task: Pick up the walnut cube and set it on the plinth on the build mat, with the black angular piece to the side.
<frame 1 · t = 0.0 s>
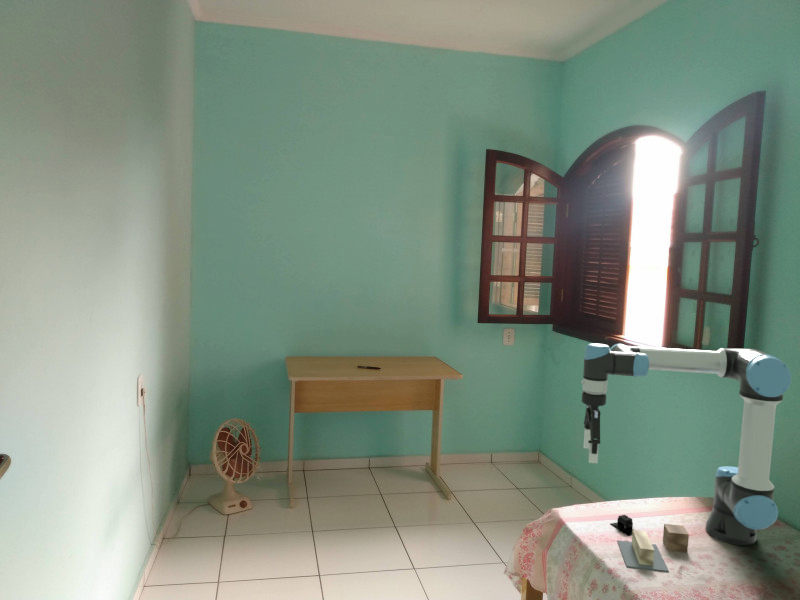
hand: (590, 455, 200), 28 cm above the table, fingers open, 13 cm apart
plinth: (642, 547, 191), on the build mat
walnut cube: (674, 546, 198), on the table
build mat: (641, 556, 191), on the table
black angular piece: (624, 530, 209), on the table
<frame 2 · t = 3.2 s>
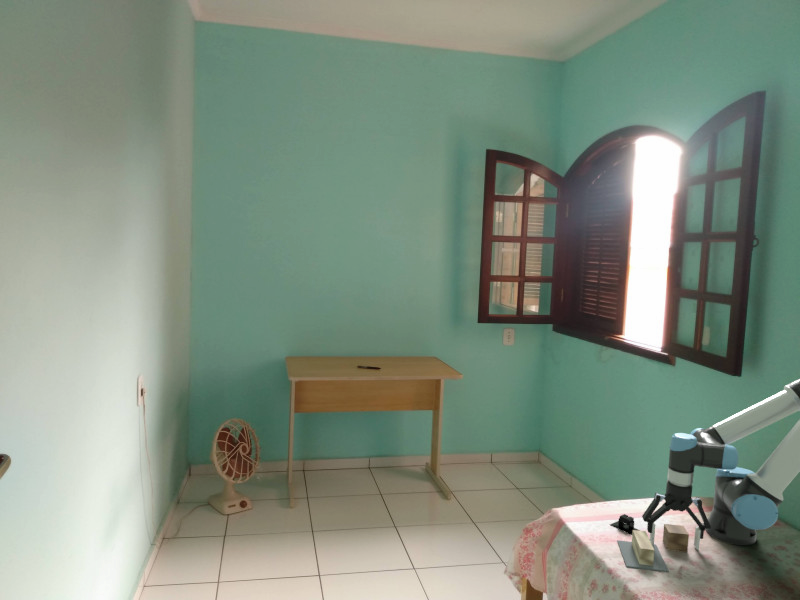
hand: (673, 545, 198), 0 cm above the table, fingers open, 13 cm apart
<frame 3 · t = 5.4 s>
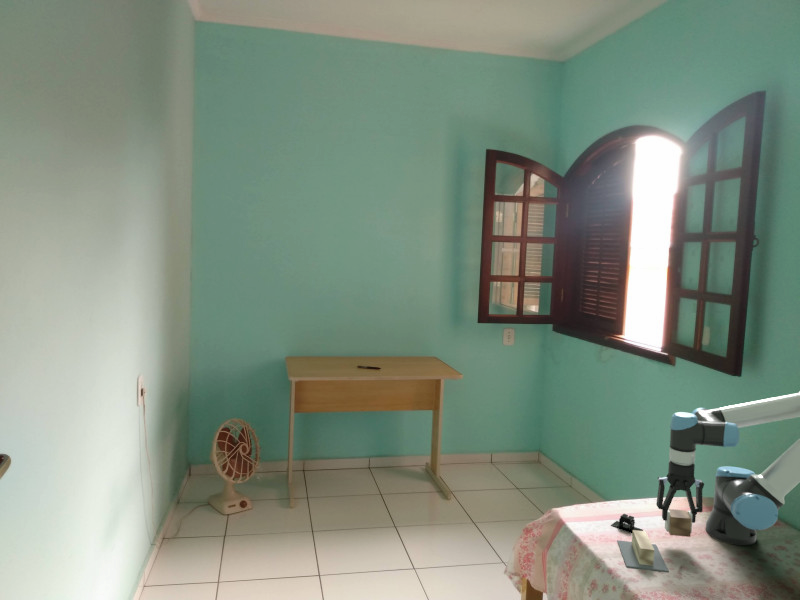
hand: (677, 530, 197), 5 cm above the table, fingers closed on walnut cube, 6 cm apart
walnut cube: (677, 531, 197), point 5 cm above the table, touching gripper
when the fingers open (5 cm above the table, at t = 9.7 s): walnut cube stays where it is, resting on plinth.
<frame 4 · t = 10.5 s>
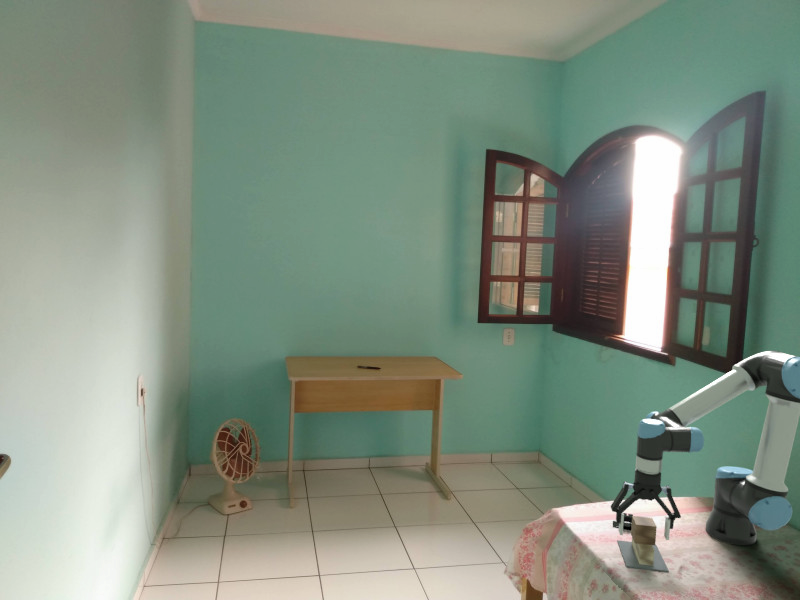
hand: (643, 535, 190), 7 cm above the table, fingers open, 13 cm apart
plinth: (642, 547, 191), on the build mat, touching walnut cube
walnut cube: (642, 539, 191), point 5 cm above the table, touching plinth
black angular piece: (626, 528, 211), on the table
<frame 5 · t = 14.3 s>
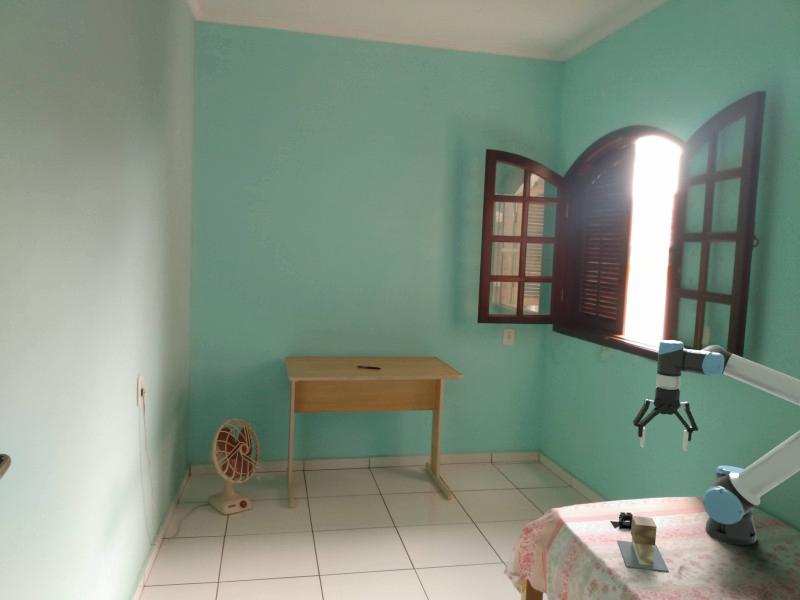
hand: (663, 448, 206), 29 cm above the table, fingers open, 13 cm apart
at the end: walnut cube inside the target area on the plinth (0.1 cm from its centre), point 5.0 cm above the plinth's base; walnut cube tilted 0°; plinth moved 0.0 cm from its start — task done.
